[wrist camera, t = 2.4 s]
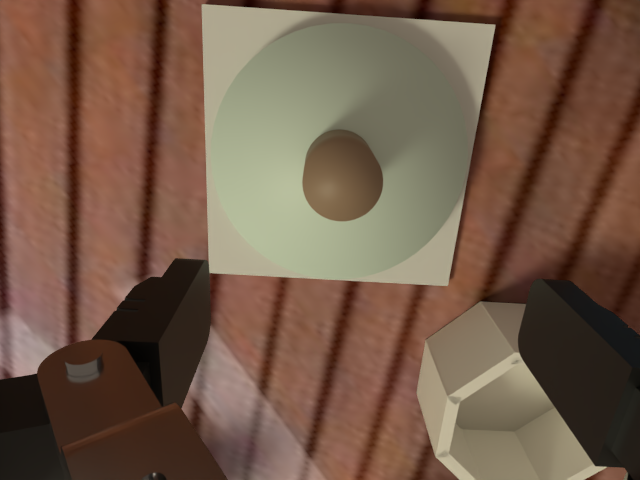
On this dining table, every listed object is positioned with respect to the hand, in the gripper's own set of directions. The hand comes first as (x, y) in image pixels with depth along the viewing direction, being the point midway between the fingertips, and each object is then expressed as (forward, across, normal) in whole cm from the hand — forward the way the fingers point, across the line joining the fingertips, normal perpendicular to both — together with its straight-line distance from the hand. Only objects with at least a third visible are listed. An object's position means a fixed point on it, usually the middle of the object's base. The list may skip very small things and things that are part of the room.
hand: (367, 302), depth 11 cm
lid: (+18, 0, 0) cm, 18 cm away
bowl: (+18, -13, +15) cm, 27 cm away
